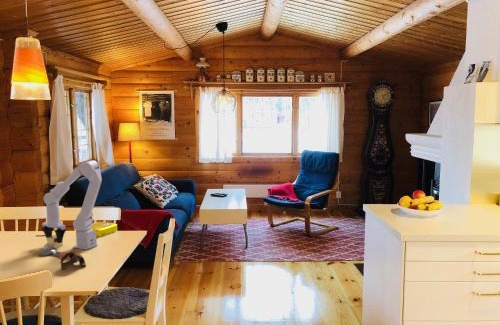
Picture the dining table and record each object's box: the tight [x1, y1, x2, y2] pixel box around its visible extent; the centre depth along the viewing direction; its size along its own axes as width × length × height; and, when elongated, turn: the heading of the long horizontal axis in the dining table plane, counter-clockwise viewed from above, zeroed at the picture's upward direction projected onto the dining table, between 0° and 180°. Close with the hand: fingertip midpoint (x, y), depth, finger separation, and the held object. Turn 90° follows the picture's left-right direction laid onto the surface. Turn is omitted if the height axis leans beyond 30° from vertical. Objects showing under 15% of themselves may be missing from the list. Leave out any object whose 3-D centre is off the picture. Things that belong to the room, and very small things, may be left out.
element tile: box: [91, 221, 118, 238], centre depth 230 cm, size 15×15×5 cm
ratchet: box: [38, 242, 70, 260], centre depth 192 cm, size 22×8×5 cm, turn 65°
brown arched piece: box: [59, 250, 87, 270], centre depth 177 cm, size 12×10×8 cm
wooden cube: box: [46, 234, 64, 248], centre depth 206 cm, size 5×5×5 cm
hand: (54, 241), depth 206 cm, fingers open, 7 cm apart
